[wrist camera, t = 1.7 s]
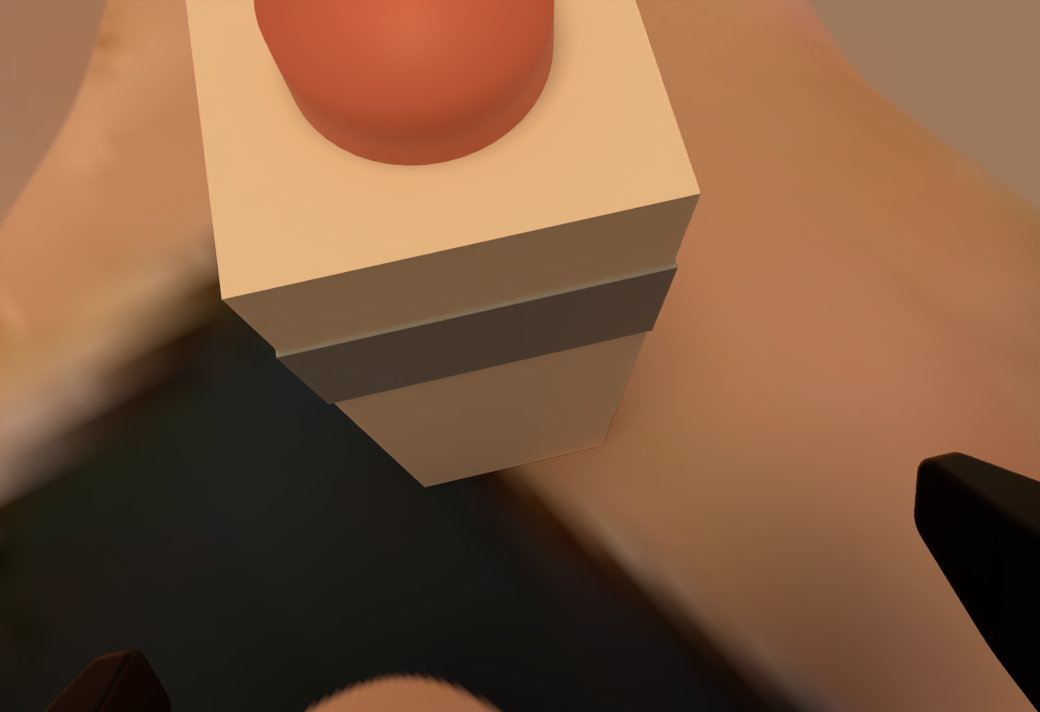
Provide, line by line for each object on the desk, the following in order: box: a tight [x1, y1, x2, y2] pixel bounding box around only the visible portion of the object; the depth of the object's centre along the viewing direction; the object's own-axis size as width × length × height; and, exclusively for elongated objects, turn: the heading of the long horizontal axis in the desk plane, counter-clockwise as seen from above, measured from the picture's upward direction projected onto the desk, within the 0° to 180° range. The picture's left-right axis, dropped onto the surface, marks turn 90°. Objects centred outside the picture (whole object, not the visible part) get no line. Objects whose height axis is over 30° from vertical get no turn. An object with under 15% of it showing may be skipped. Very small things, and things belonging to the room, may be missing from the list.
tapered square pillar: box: [186, 0, 701, 487], centre depth 15 cm, size 5×5×15 cm
